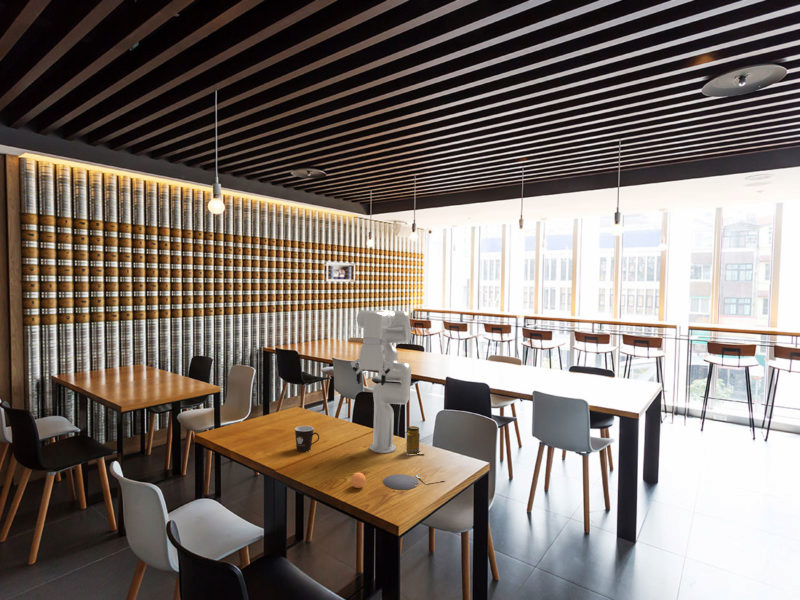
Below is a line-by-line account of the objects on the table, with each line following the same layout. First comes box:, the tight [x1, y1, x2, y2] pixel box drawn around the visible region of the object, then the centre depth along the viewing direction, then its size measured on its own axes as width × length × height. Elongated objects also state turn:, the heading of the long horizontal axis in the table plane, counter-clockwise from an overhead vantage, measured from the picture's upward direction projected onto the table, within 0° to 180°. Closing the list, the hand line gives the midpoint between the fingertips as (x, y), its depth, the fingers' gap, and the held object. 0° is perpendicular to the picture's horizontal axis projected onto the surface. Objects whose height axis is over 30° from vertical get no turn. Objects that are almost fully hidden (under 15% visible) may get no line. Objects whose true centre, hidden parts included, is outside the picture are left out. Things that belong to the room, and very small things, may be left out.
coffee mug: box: [294, 425, 320, 453], centre depth 202 cm, size 12×9×10 cm
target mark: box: [383, 473, 420, 491], centre depth 170 cm, size 14×14×1 cm
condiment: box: [404, 425, 420, 456], centre depth 204 cm, size 7×8×12 cm
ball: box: [350, 471, 367, 489], centre depth 164 cm, size 6×6×6 cm
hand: (370, 384), depth 175 cm, fingers open, 9 cm apart
